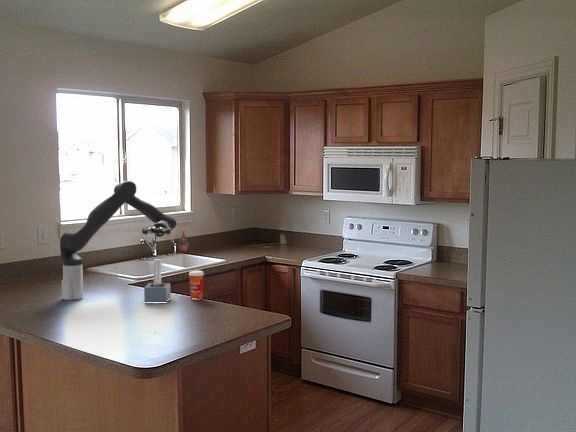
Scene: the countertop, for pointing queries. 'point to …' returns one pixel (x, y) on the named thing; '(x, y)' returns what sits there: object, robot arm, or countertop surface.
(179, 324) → the countertop surface
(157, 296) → the grey open box
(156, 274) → the white upright rod
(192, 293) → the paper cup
